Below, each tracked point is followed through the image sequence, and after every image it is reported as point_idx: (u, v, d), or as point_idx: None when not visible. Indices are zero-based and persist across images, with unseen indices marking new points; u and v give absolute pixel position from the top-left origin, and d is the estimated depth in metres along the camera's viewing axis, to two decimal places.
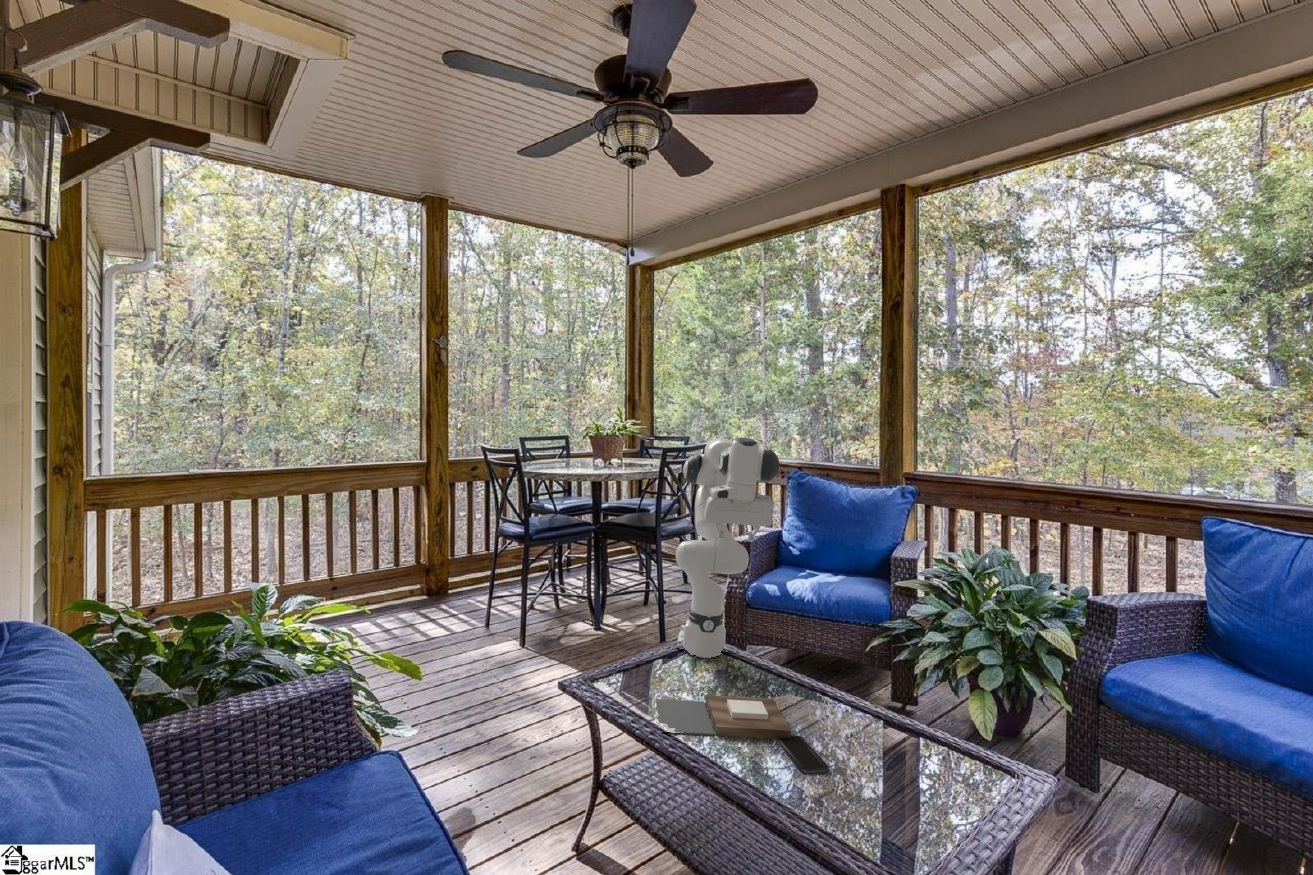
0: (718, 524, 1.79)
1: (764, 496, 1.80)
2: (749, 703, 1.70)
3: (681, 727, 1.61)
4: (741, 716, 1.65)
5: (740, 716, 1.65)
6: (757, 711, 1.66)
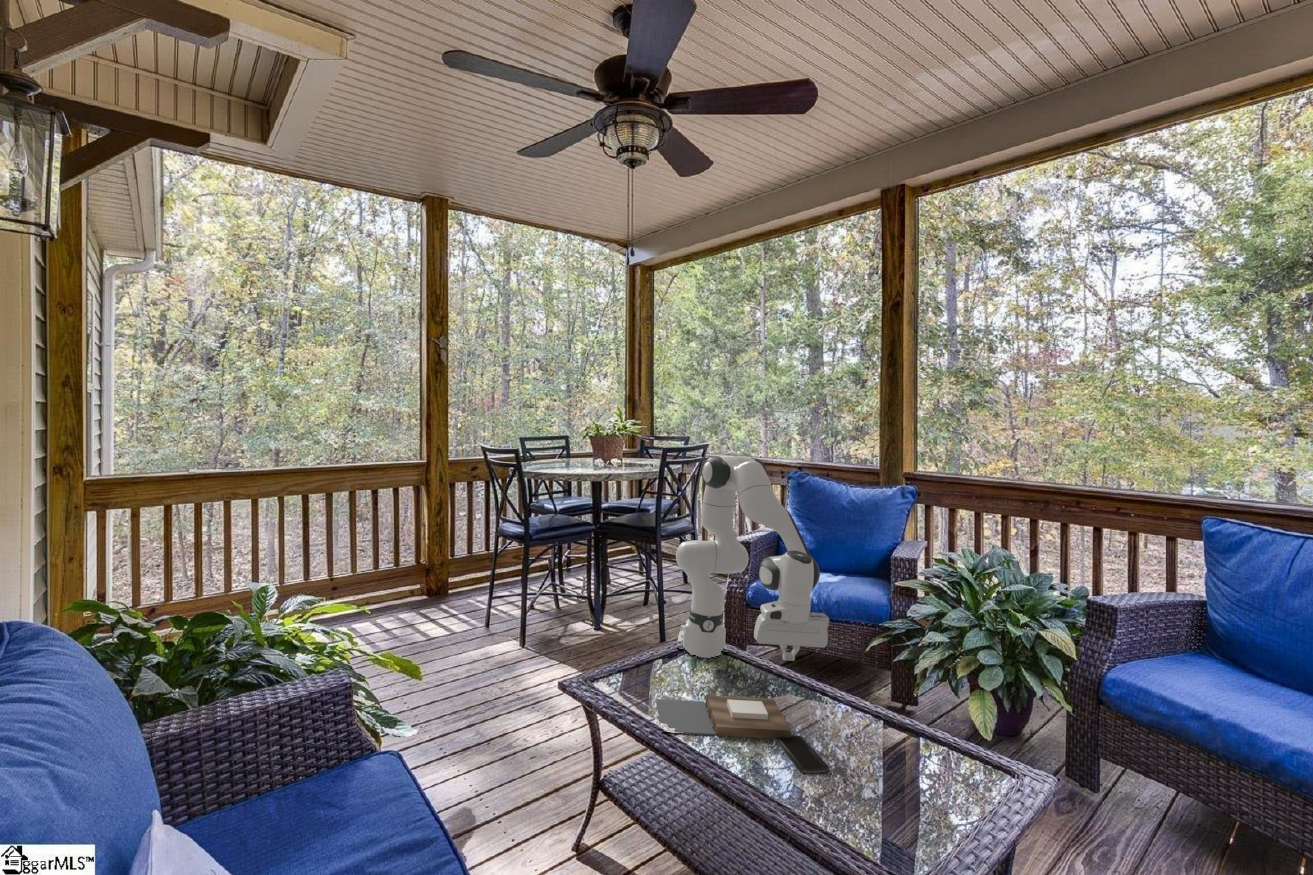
0: (784, 646, 1.67)
1: (819, 615, 1.68)
2: (749, 703, 1.70)
3: (681, 727, 1.61)
4: (741, 716, 1.65)
5: (740, 716, 1.65)
6: (757, 711, 1.66)
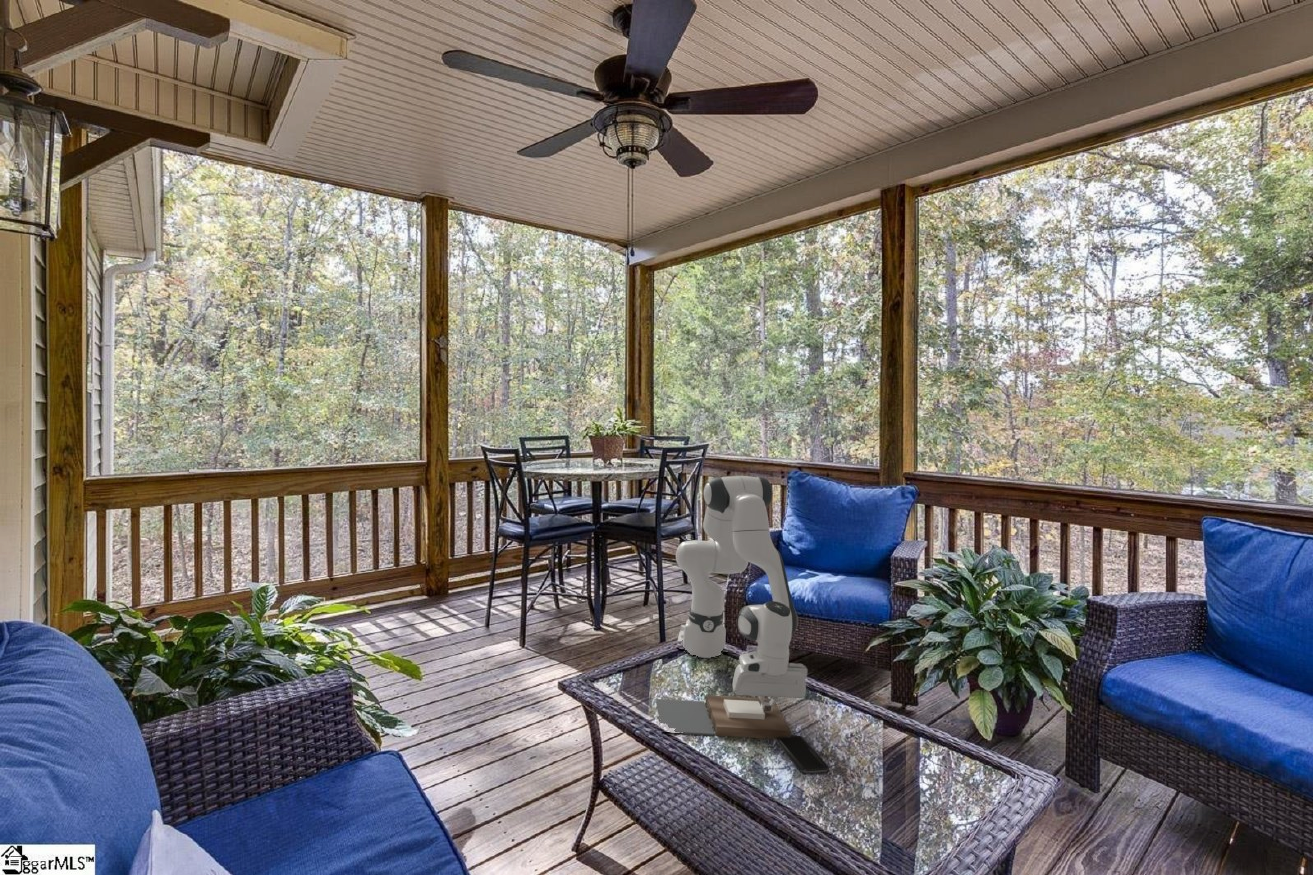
0: (762, 697, 1.68)
1: (797, 665, 1.68)
2: (746, 703, 1.70)
3: (681, 727, 1.61)
4: (738, 716, 1.65)
5: (737, 716, 1.65)
6: (753, 711, 1.66)
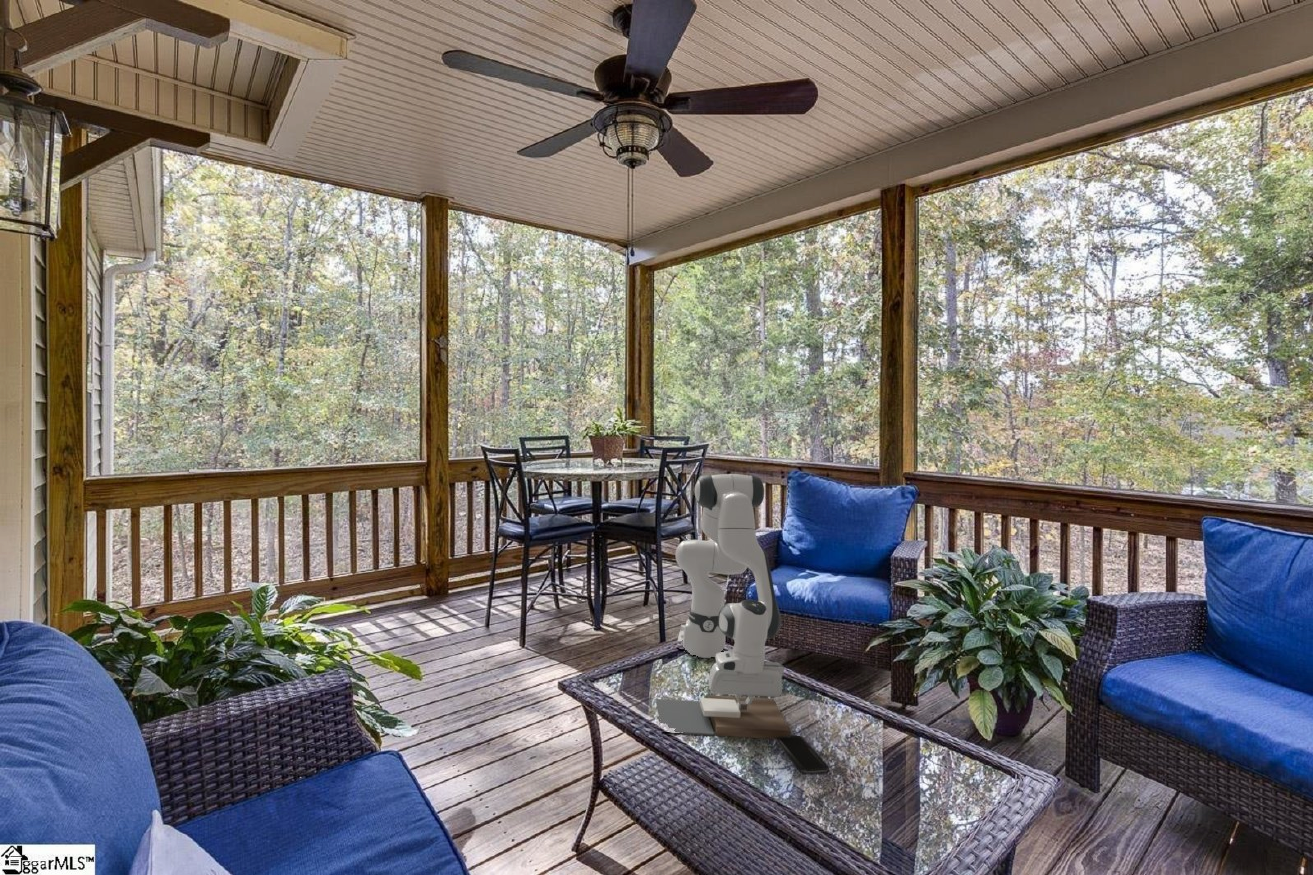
0: (738, 696, 1.67)
1: (773, 664, 1.68)
2: (722, 701, 1.70)
3: (681, 727, 1.61)
4: (713, 714, 1.64)
5: (712, 714, 1.64)
6: (729, 709, 1.66)
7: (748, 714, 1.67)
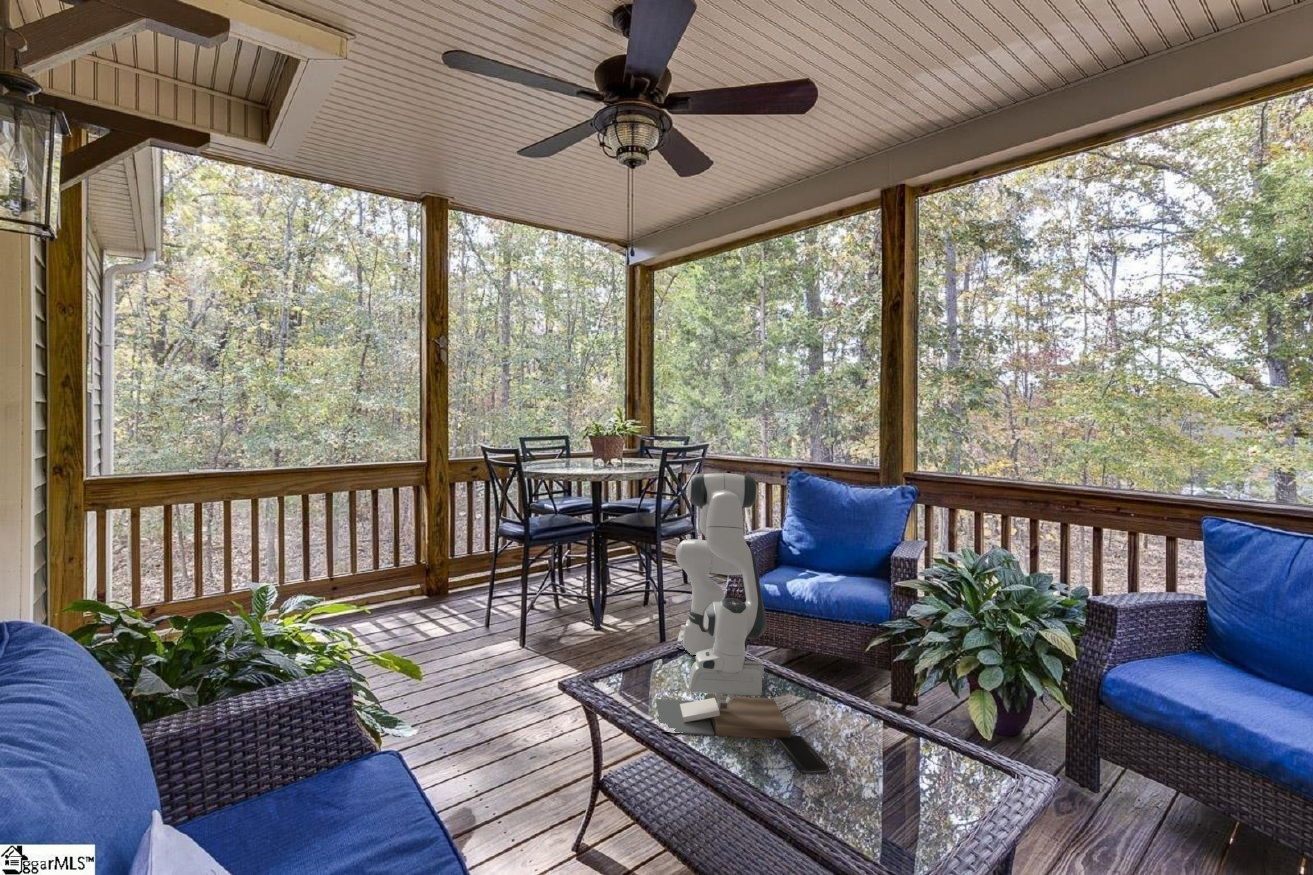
0: (718, 695, 1.67)
1: (753, 663, 1.67)
2: (701, 703, 1.69)
3: (681, 727, 1.61)
4: (693, 719, 1.64)
5: (692, 719, 1.64)
6: (708, 710, 1.65)
7: (748, 714, 1.67)
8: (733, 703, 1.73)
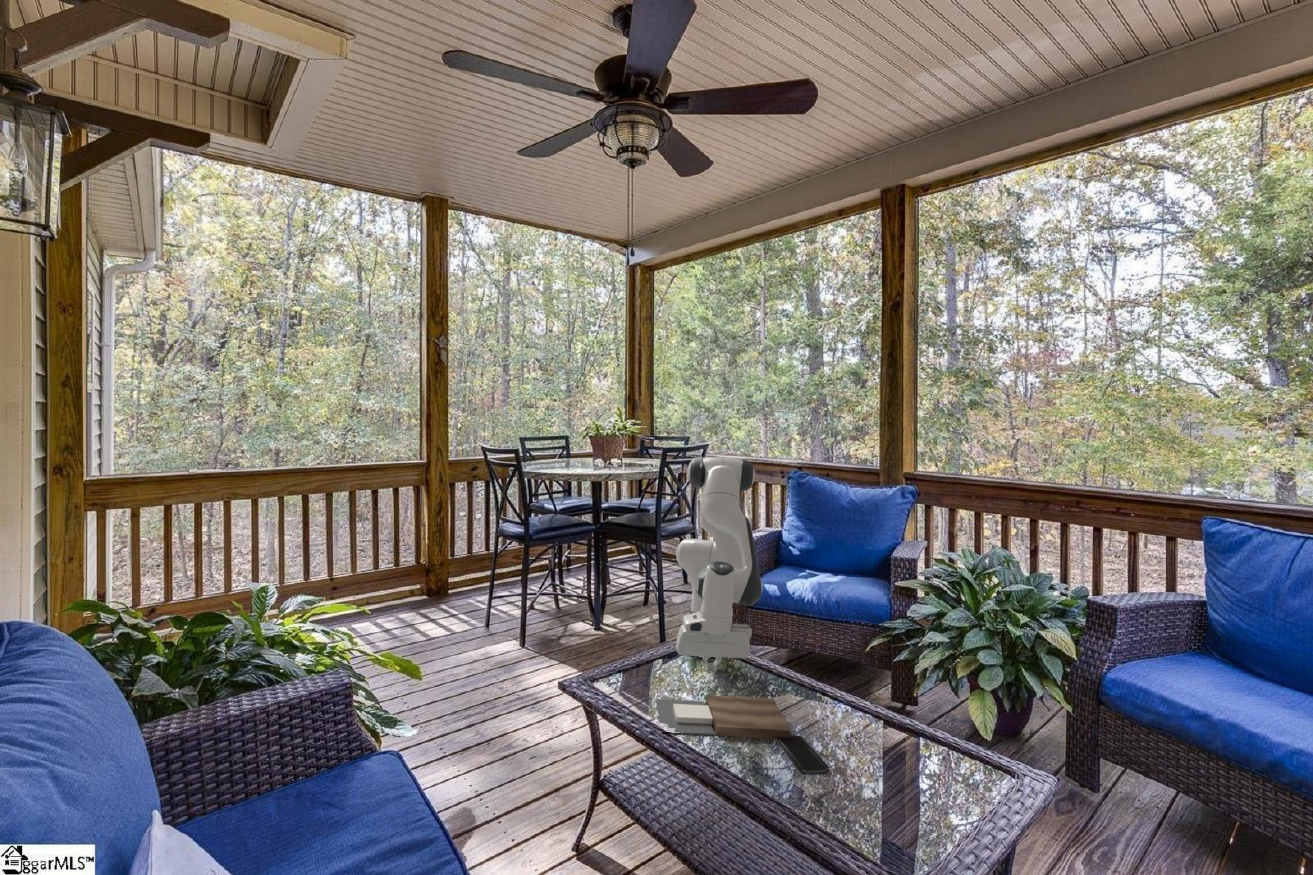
0: (706, 657, 1.66)
1: (741, 626, 1.66)
2: (695, 707, 1.69)
3: (681, 727, 1.61)
4: (685, 721, 1.63)
5: (684, 721, 1.63)
6: (701, 716, 1.65)
7: (748, 714, 1.67)
8: (733, 703, 1.73)
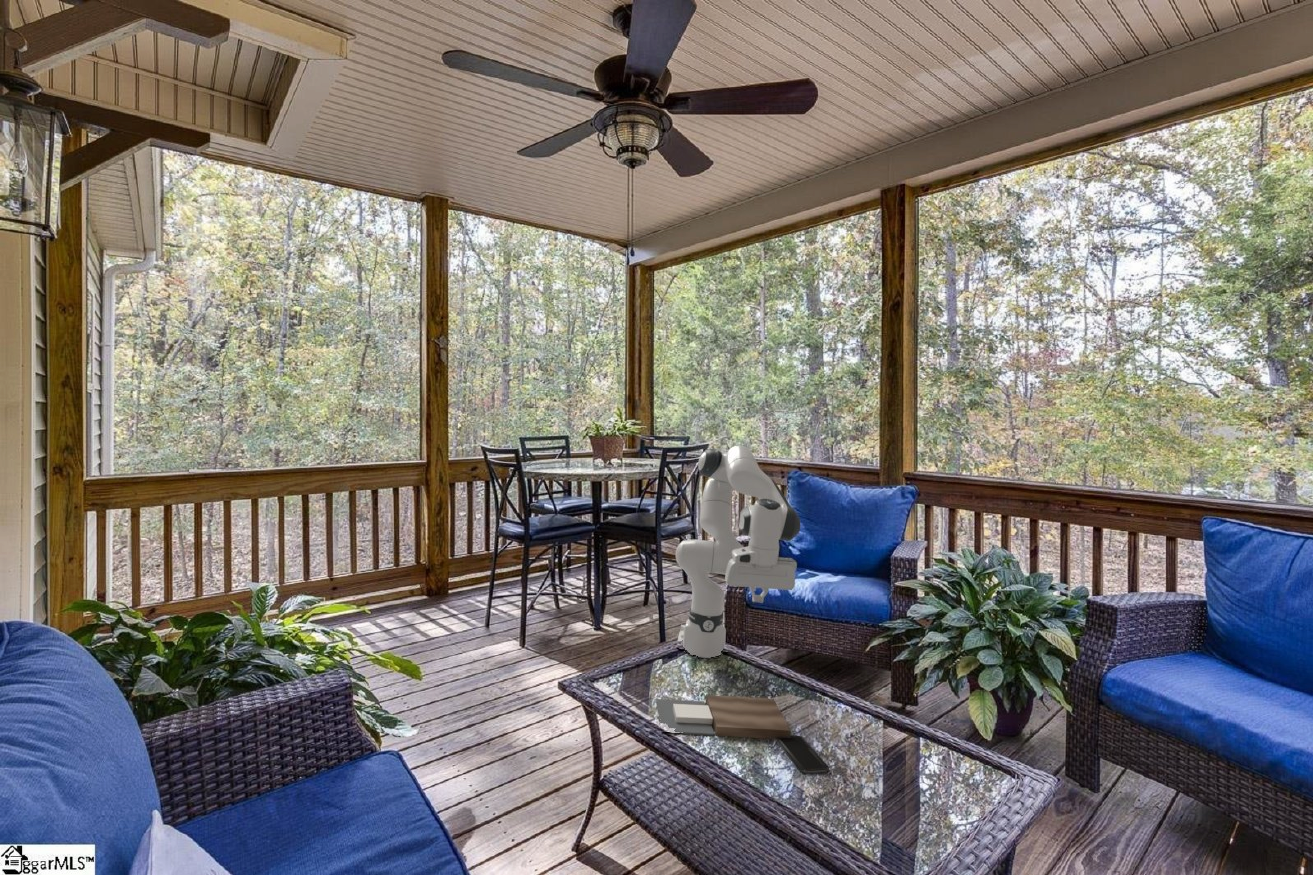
0: (753, 589, 1.76)
1: (787, 559, 1.77)
2: (695, 707, 1.69)
3: (681, 727, 1.61)
4: (685, 721, 1.63)
5: (684, 721, 1.63)
6: (701, 716, 1.65)
7: (748, 714, 1.67)
8: (733, 703, 1.73)
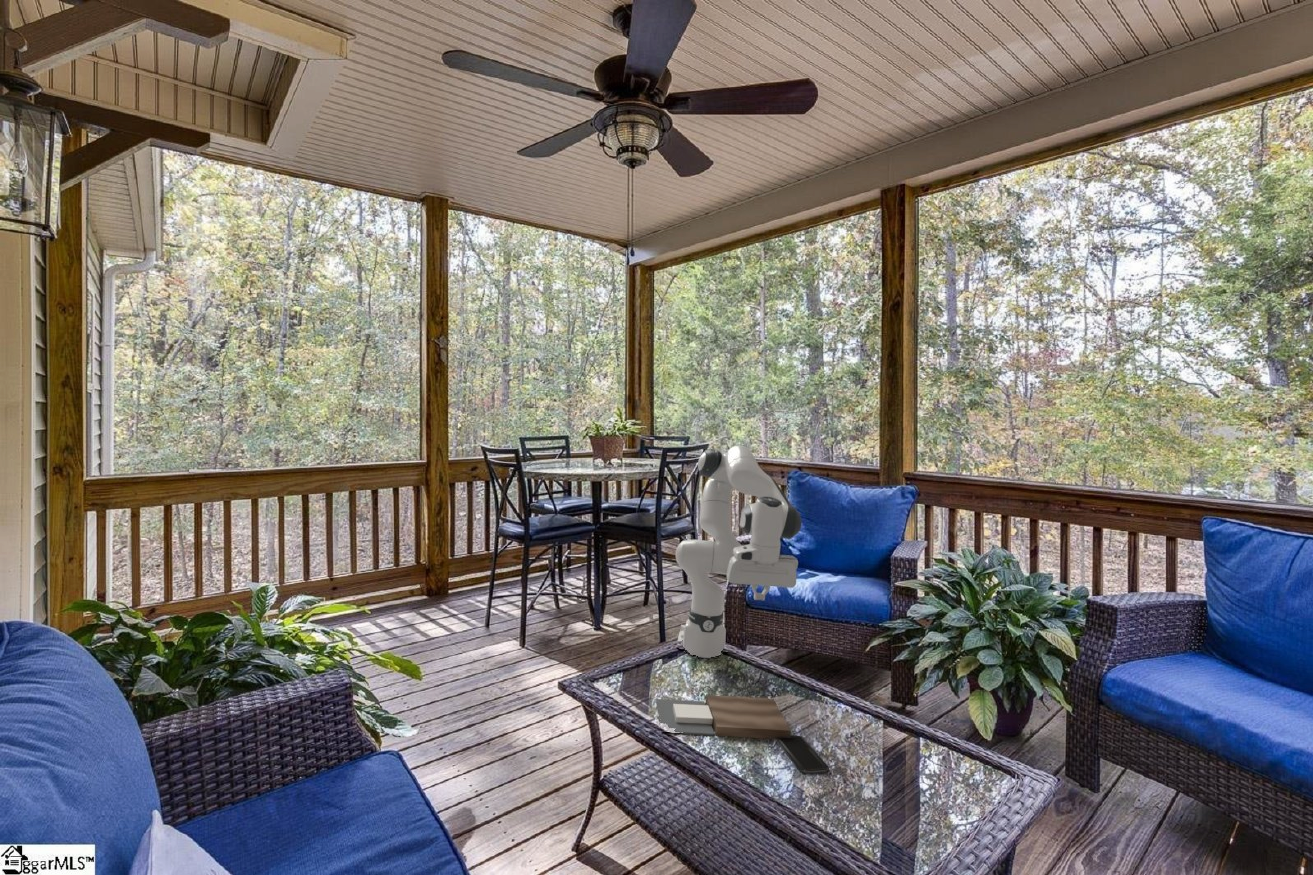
0: (755, 586, 1.76)
1: (788, 557, 1.77)
2: (695, 707, 1.69)
3: (681, 727, 1.61)
4: (685, 721, 1.63)
5: (684, 721, 1.63)
6: (701, 716, 1.65)
7: (748, 714, 1.67)
8: (733, 703, 1.73)
